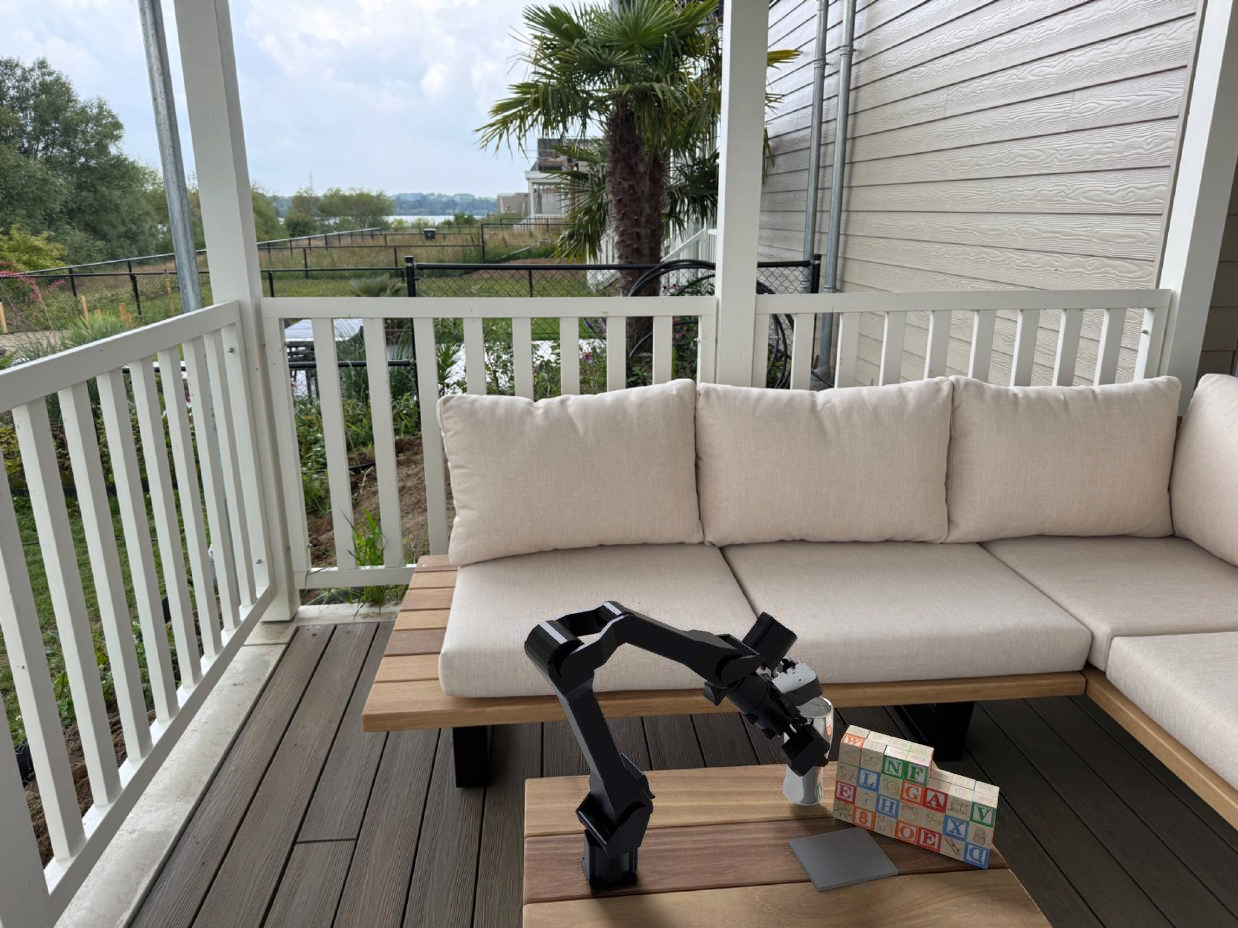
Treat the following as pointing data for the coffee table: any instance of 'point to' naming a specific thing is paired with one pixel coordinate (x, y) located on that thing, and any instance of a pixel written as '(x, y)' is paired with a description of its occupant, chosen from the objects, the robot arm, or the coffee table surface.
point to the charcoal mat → (841, 858)
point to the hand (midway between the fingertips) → (814, 750)
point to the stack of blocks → (913, 797)
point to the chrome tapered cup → (810, 785)
